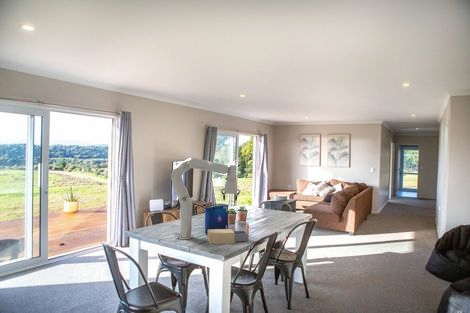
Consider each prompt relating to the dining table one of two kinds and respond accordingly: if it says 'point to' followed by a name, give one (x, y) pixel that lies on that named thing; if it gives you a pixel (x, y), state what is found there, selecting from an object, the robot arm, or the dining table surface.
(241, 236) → the grey stepped block
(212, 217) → the book
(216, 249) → the dining table surface
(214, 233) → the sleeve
